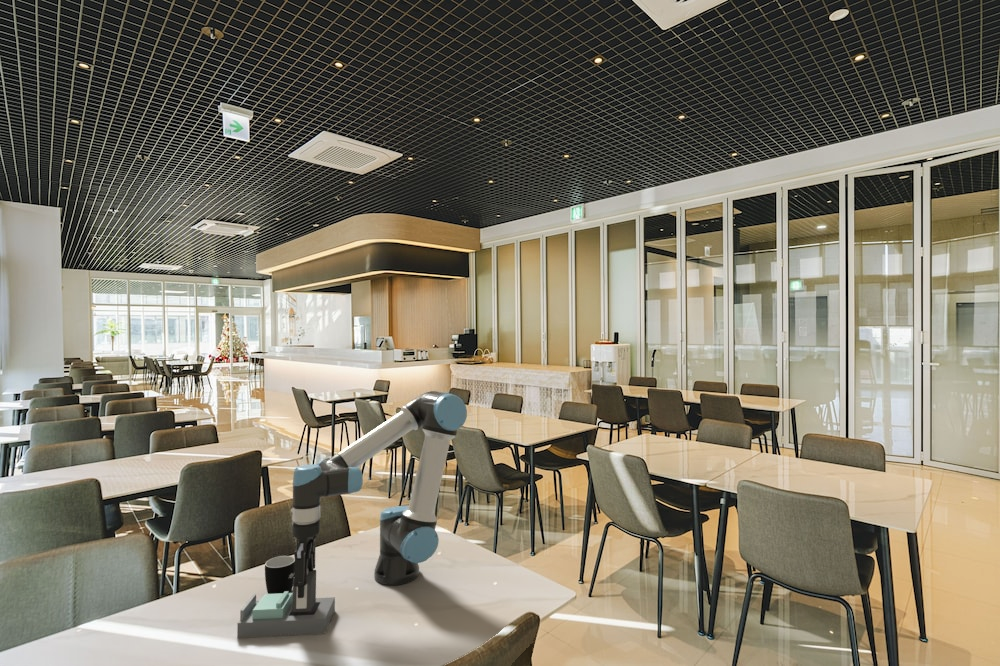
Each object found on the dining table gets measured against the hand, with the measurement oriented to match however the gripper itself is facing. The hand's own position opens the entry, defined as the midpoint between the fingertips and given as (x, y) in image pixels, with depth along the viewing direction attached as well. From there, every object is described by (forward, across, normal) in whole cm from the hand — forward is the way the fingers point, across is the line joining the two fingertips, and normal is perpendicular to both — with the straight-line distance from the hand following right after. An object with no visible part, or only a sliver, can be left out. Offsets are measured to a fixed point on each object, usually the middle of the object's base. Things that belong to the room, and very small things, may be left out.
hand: (304, 602), depth 143 cm
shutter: (+2, 0, -9) cm, 9 cm away
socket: (+6, 0, -4) cm, 7 cm away
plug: (+1, 0, 0) cm, 1 cm away
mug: (+6, -20, -13) cm, 25 cm away
